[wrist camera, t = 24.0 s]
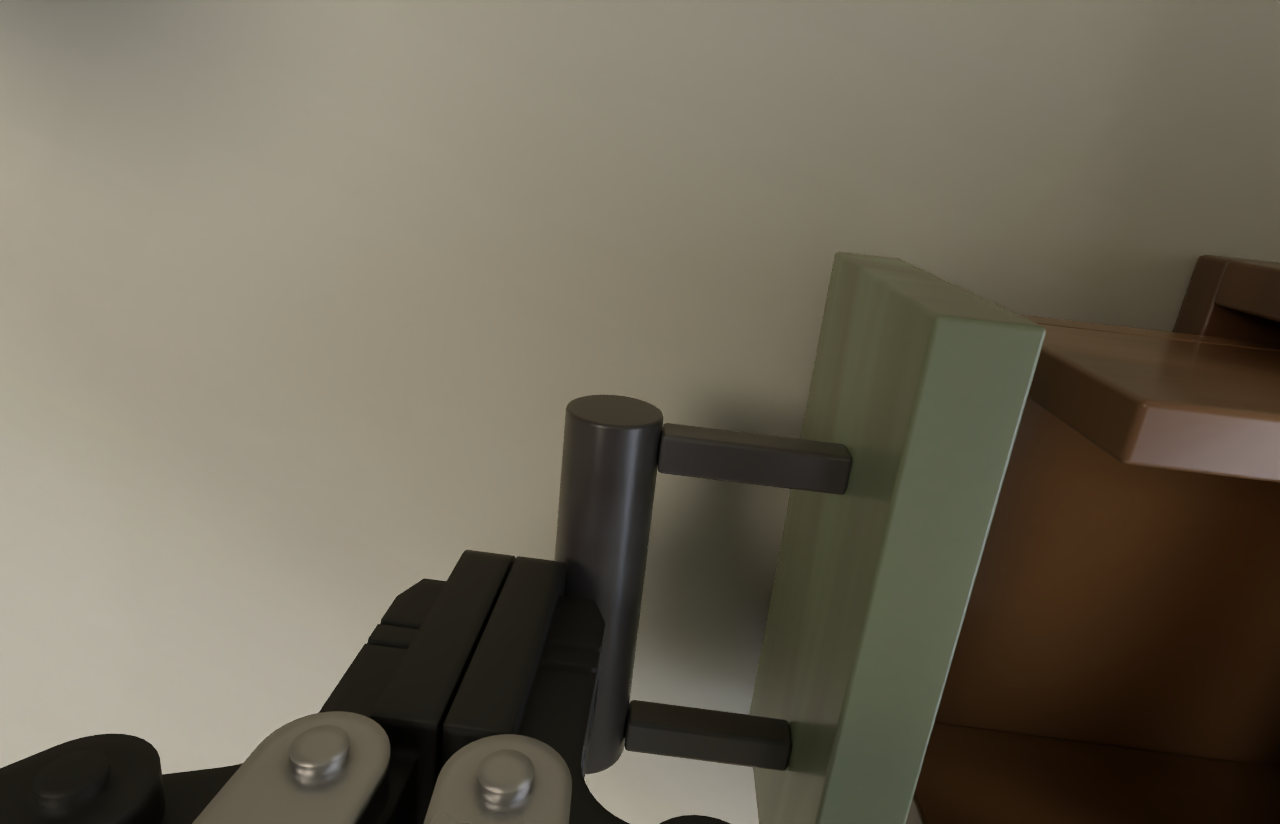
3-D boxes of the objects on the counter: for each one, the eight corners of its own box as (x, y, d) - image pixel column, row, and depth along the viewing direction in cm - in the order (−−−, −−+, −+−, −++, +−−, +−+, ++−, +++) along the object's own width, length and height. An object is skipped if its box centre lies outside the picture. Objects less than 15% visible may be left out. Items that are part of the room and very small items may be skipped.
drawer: (566, 696, 17) (506, 956, 11) (607, 226, 13) (550, 270, 8) (1315, 793, 16) (1630, 1112, 11) (1552, 331, 13) (2182, 456, 8)
